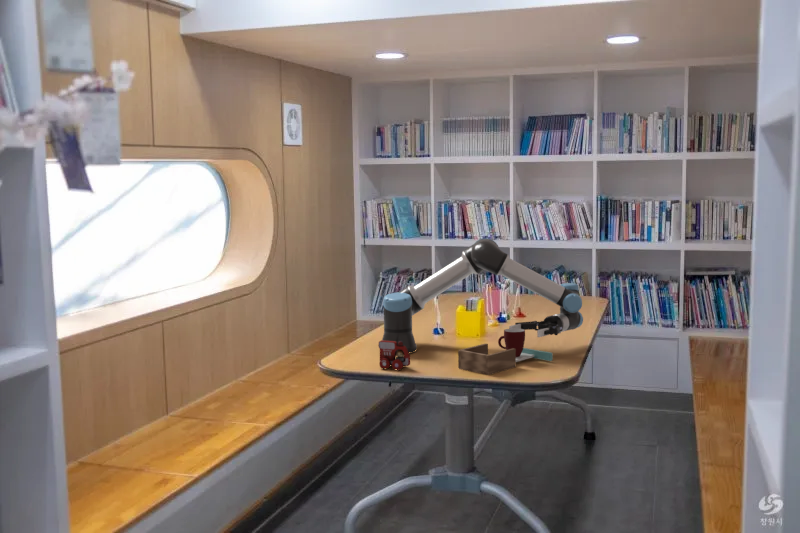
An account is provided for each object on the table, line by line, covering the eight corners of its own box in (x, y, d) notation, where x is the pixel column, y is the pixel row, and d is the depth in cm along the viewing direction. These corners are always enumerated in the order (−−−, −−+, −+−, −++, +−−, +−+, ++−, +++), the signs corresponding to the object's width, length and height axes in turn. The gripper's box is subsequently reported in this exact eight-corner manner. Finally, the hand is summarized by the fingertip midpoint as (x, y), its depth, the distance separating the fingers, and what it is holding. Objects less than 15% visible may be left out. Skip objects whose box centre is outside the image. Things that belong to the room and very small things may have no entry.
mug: (496, 357, 306) (495, 331, 305) (500, 353, 314) (499, 327, 313) (523, 358, 303) (523, 332, 302) (526, 354, 310) (526, 328, 309)
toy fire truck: (406, 371, 295) (405, 343, 294) (375, 369, 299) (375, 341, 298) (413, 367, 301) (412, 340, 300) (383, 364, 306) (382, 338, 305)
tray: (484, 359, 308) (484, 352, 308) (510, 352, 320) (510, 345, 319) (527, 367, 294) (527, 359, 294) (552, 360, 305) (552, 352, 305)
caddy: (458, 368, 298) (458, 350, 297) (485, 361, 309) (485, 343, 308) (488, 374, 287) (488, 355, 287) (515, 367, 299) (515, 348, 298)
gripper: (581, 337, 318) (550, 345, 303) (530, 329, 336) (498, 337, 321) (581, 318, 317) (550, 325, 303) (530, 311, 335) (498, 318, 320)
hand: (523, 331), depth 312 cm, fingers open, 13 cm apart
